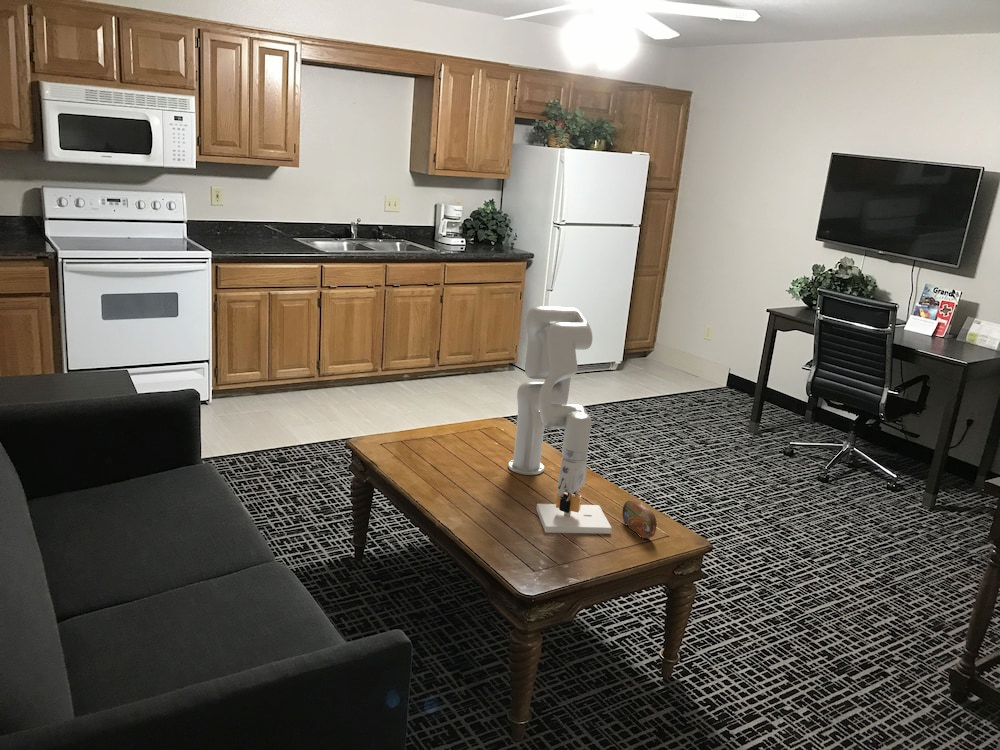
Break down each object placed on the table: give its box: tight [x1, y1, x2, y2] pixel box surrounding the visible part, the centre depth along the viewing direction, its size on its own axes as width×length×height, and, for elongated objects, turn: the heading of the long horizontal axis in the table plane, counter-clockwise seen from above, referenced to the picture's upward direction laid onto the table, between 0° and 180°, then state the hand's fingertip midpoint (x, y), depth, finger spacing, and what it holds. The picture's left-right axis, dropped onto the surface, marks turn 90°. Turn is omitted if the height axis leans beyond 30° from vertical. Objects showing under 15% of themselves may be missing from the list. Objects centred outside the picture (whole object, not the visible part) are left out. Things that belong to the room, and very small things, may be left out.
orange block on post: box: [555, 492, 583, 512], centre depth 243 cm, size 7×2×5 cm, turn 72°
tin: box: [622, 500, 658, 539], centre depth 242 cm, size 15×3×8 cm, turn 23°
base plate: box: [536, 503, 612, 535], centre depth 245 cm, size 15×20×4 cm
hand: (567, 508), depth 244 cm, fingers closed on orange block on post, 3 cm apart
